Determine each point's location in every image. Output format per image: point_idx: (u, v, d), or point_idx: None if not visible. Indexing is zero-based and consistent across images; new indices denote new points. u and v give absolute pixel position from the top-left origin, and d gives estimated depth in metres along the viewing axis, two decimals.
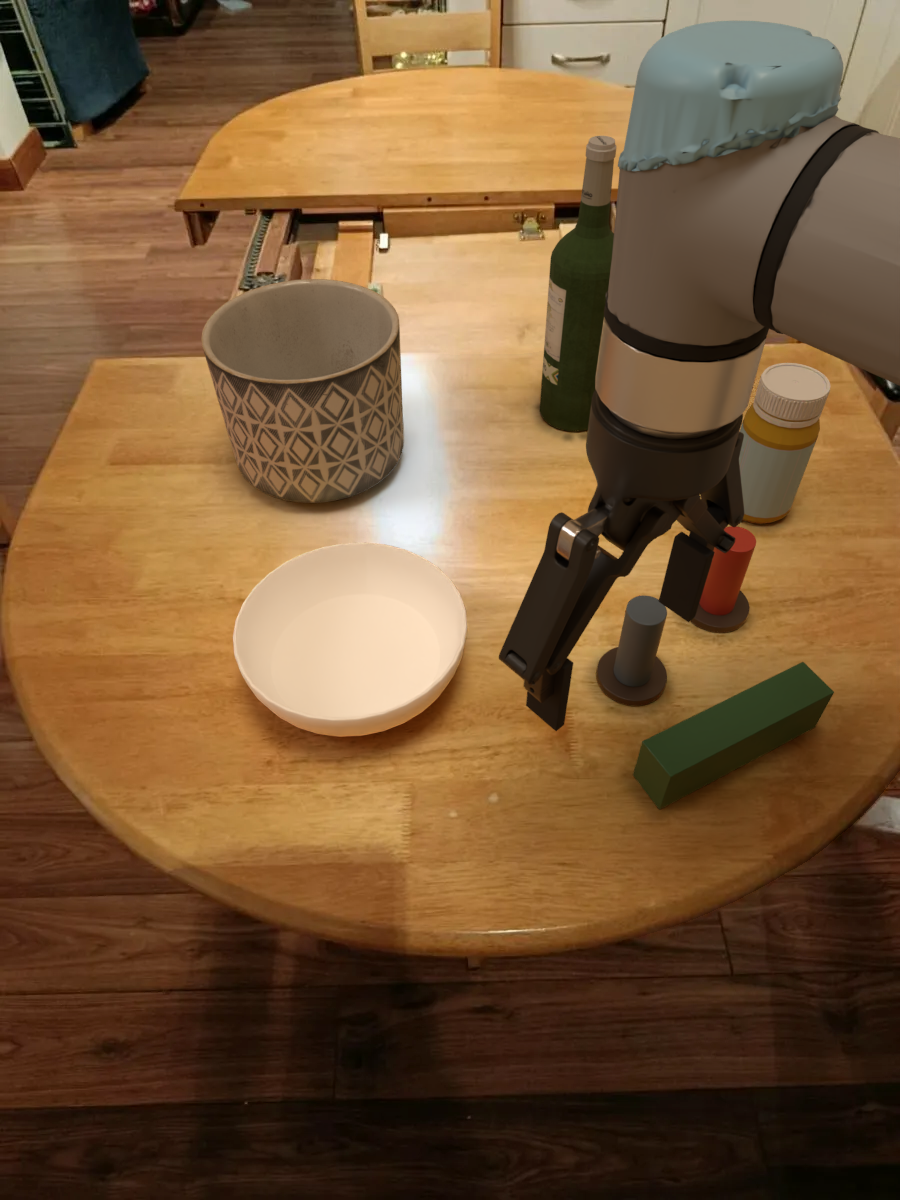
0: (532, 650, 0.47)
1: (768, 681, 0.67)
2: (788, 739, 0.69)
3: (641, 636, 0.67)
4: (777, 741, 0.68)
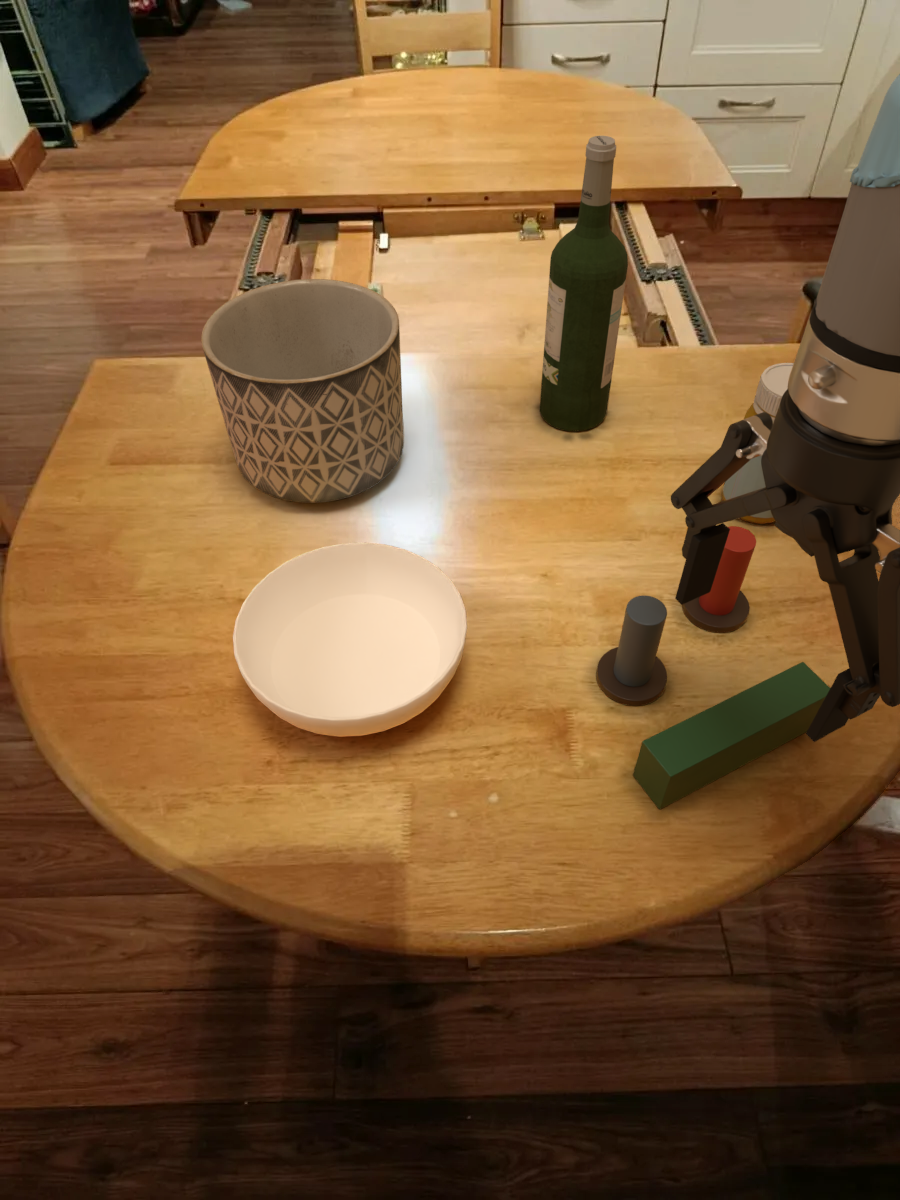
0: None
1: (768, 681, 0.67)
2: (788, 739, 0.69)
3: (641, 636, 0.67)
4: (777, 741, 0.68)
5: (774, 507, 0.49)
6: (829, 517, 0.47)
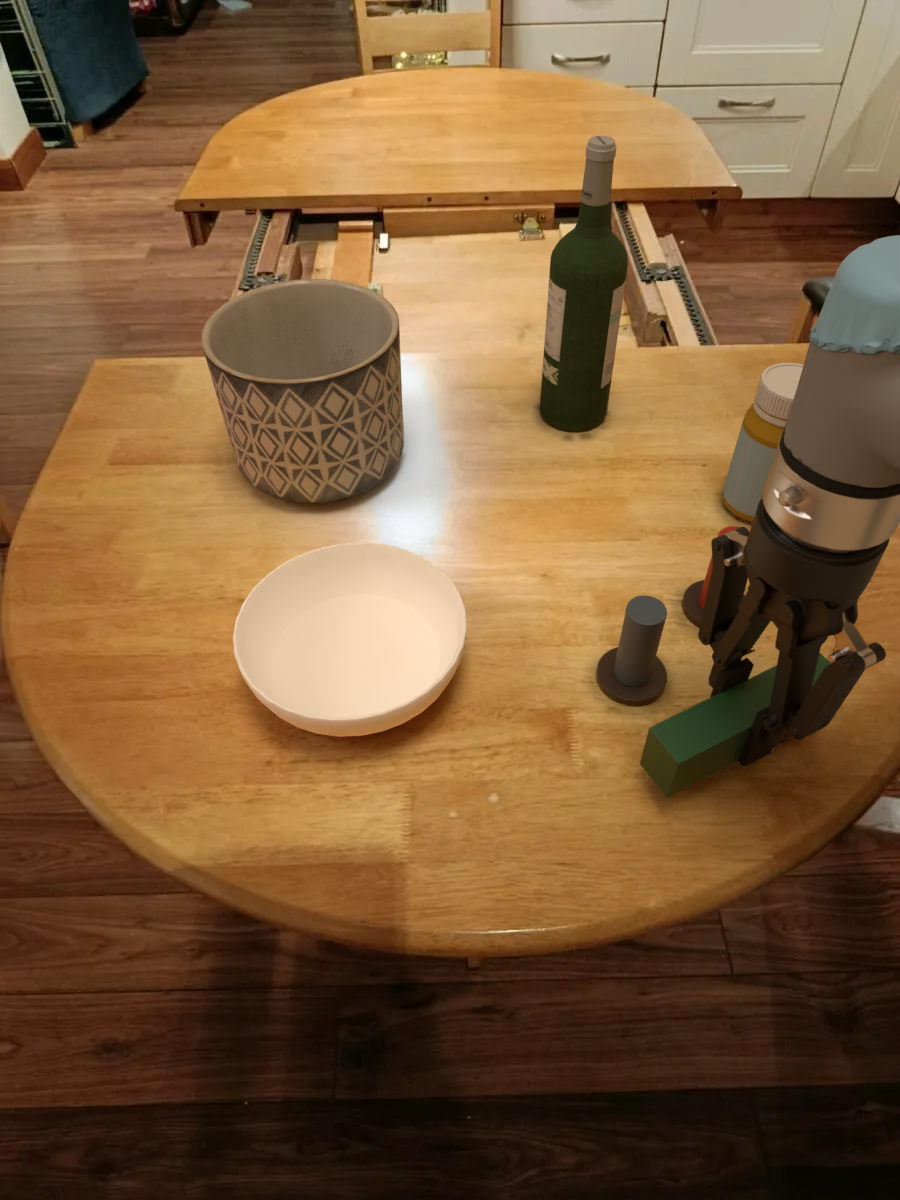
0: (829, 716, 0.57)
1: None
2: None
3: (641, 636, 0.67)
4: None
5: (754, 595, 0.55)
6: (802, 612, 0.53)
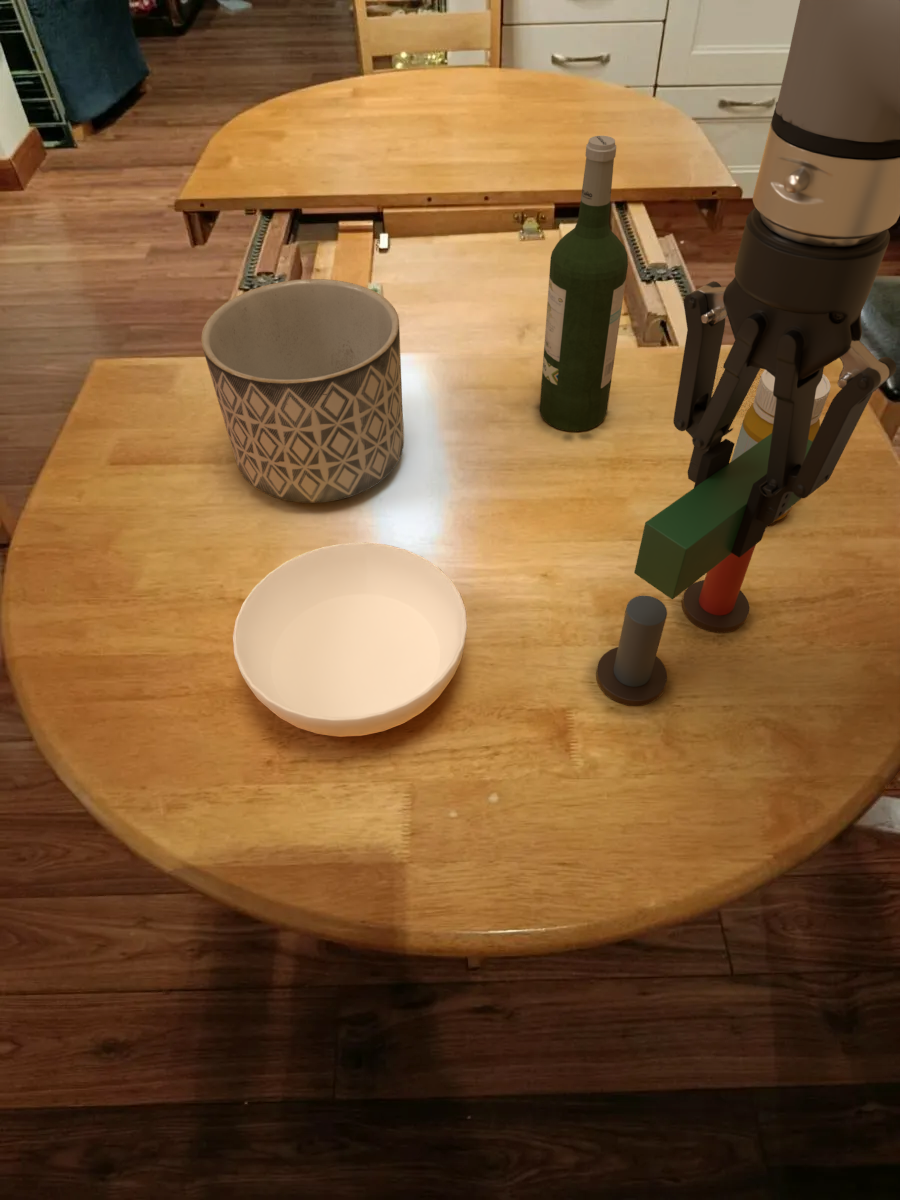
0: (833, 464, 0.54)
1: (754, 448, 0.62)
2: None
3: (641, 636, 0.67)
4: None
5: (745, 340, 0.51)
6: (803, 341, 0.49)
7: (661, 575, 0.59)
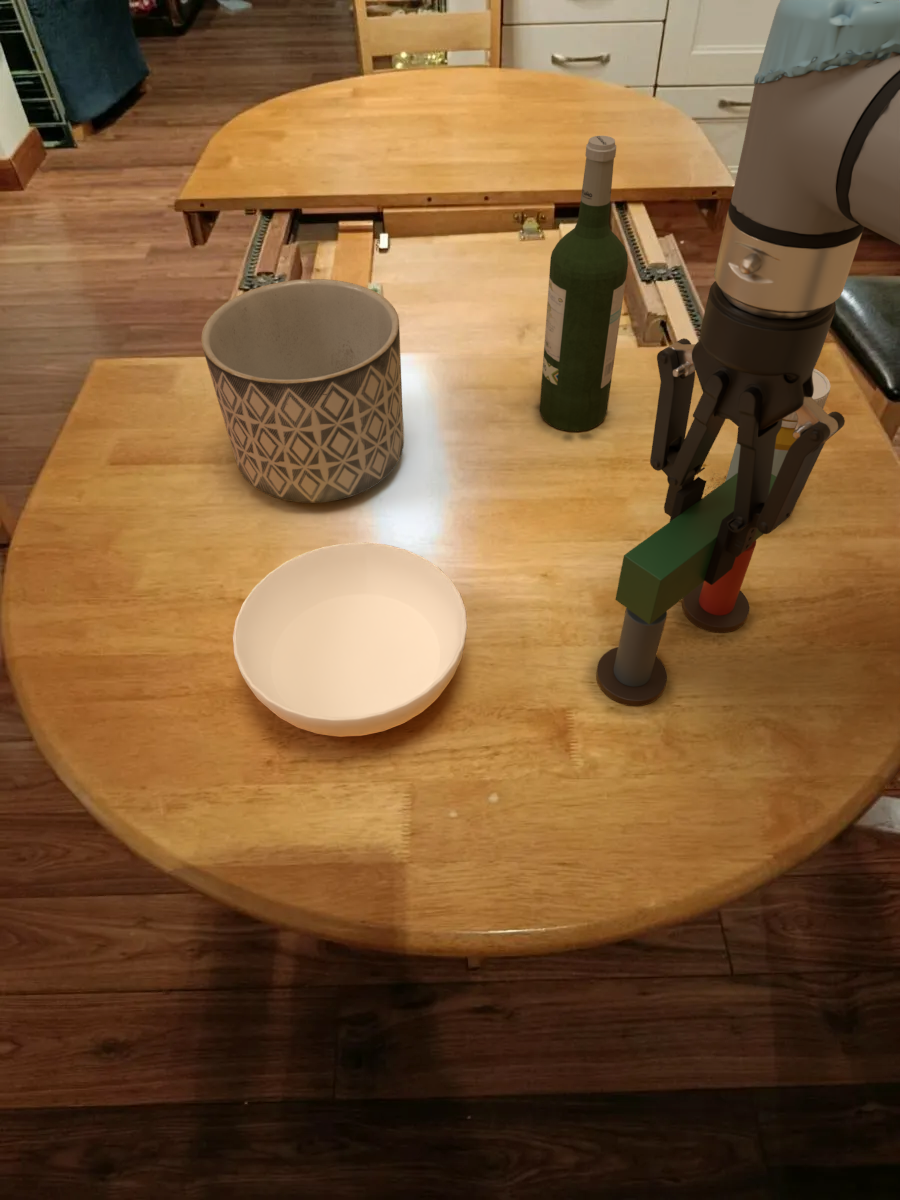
0: (793, 503, 0.59)
1: (725, 484, 0.68)
2: None
3: (641, 636, 0.67)
4: None
5: (711, 394, 0.57)
6: (762, 397, 0.55)
7: (639, 602, 0.64)
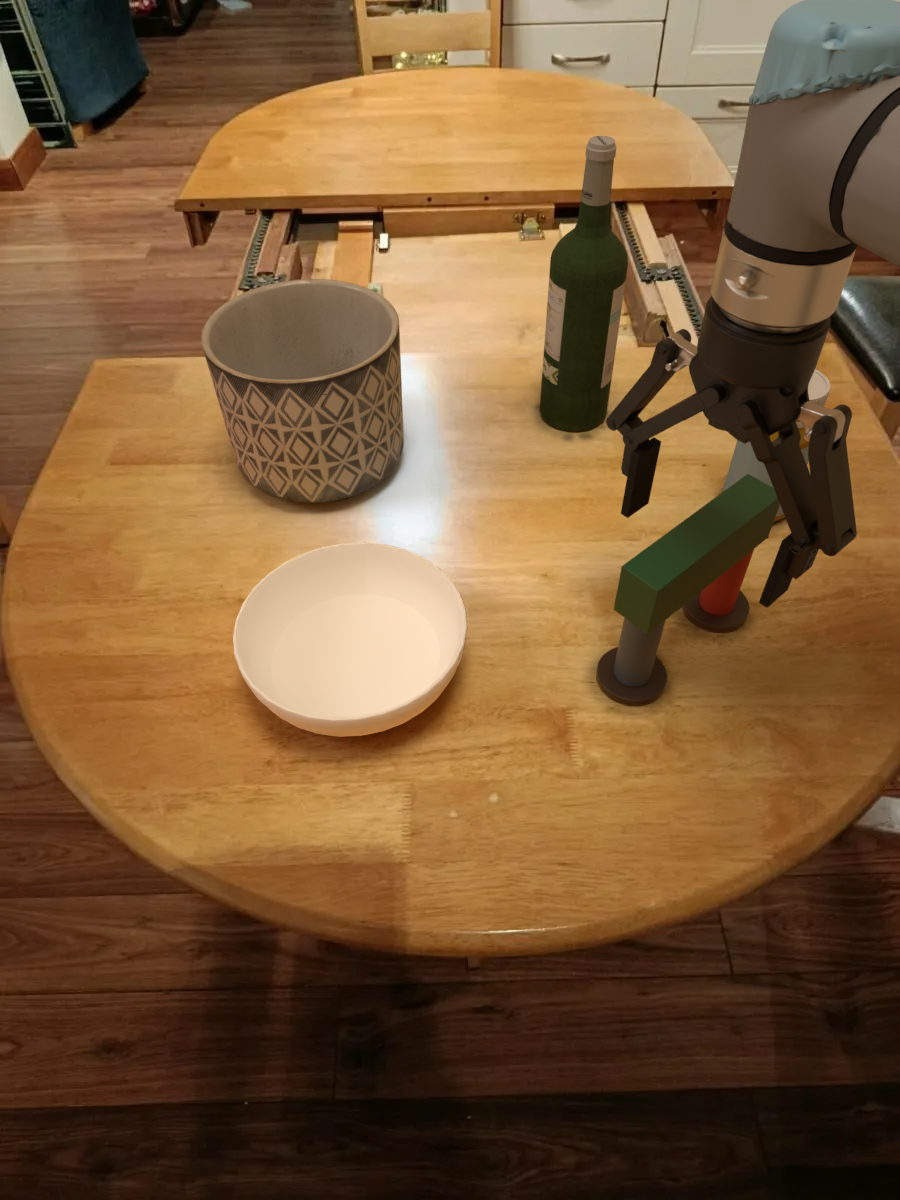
0: (849, 516, 0.56)
1: (722, 495, 0.69)
2: (747, 551, 0.71)
3: (641, 636, 0.67)
4: (739, 552, 0.70)
5: (708, 406, 0.57)
6: (757, 405, 0.55)
7: (637, 612, 0.65)
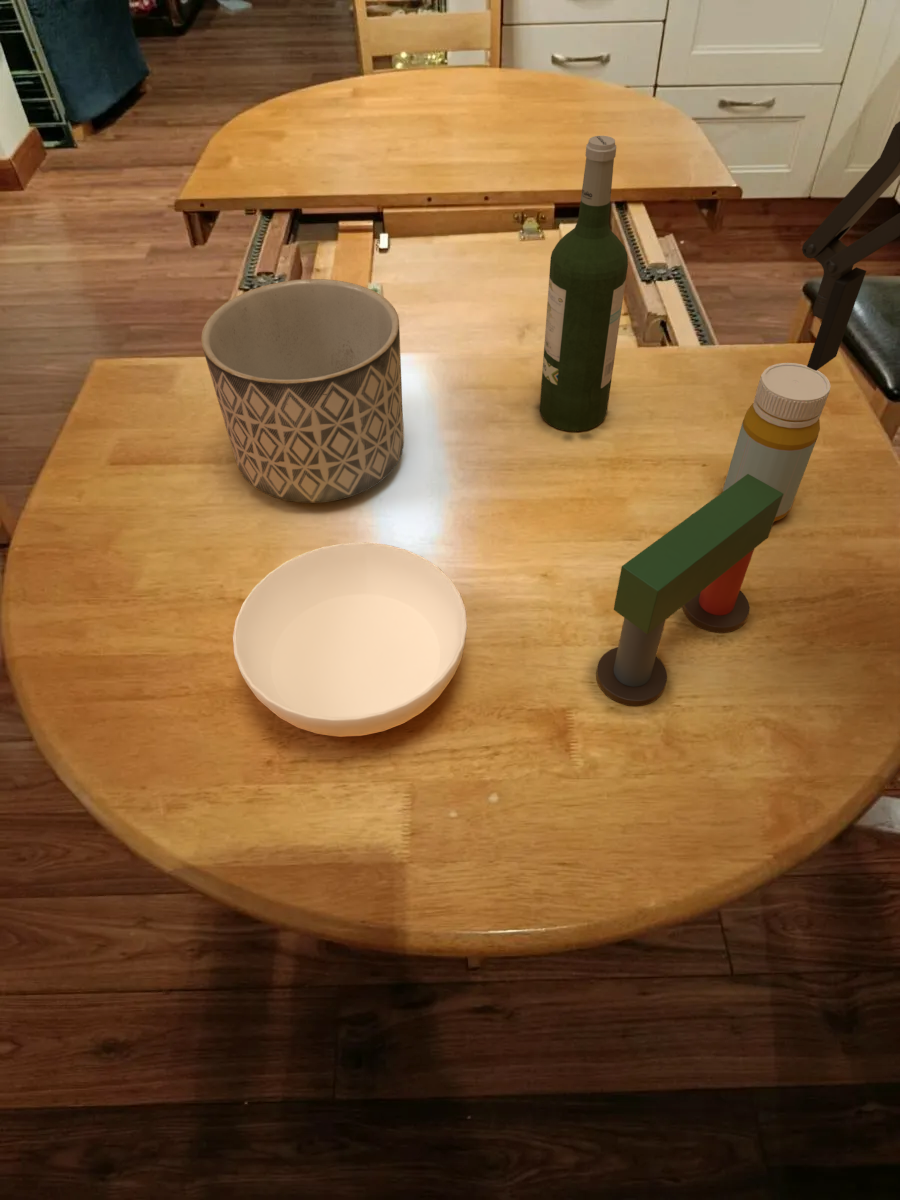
0: None
1: (722, 495, 0.69)
2: (747, 551, 0.71)
3: (641, 636, 0.67)
4: (739, 552, 0.70)
5: None
6: None
7: (637, 612, 0.65)
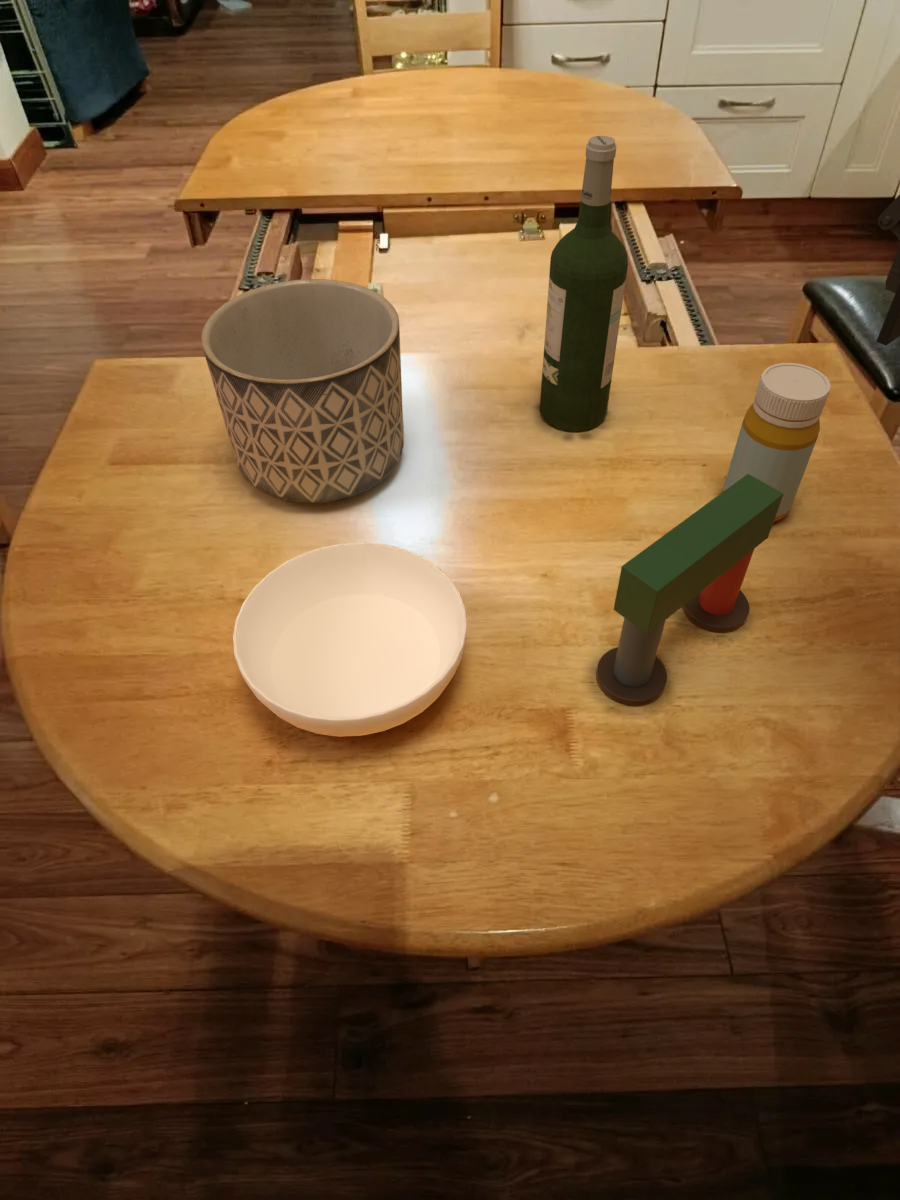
0: None
1: (722, 495, 0.69)
2: (747, 551, 0.71)
3: (641, 636, 0.67)
4: (739, 552, 0.70)
5: None
6: None
7: (637, 612, 0.65)
